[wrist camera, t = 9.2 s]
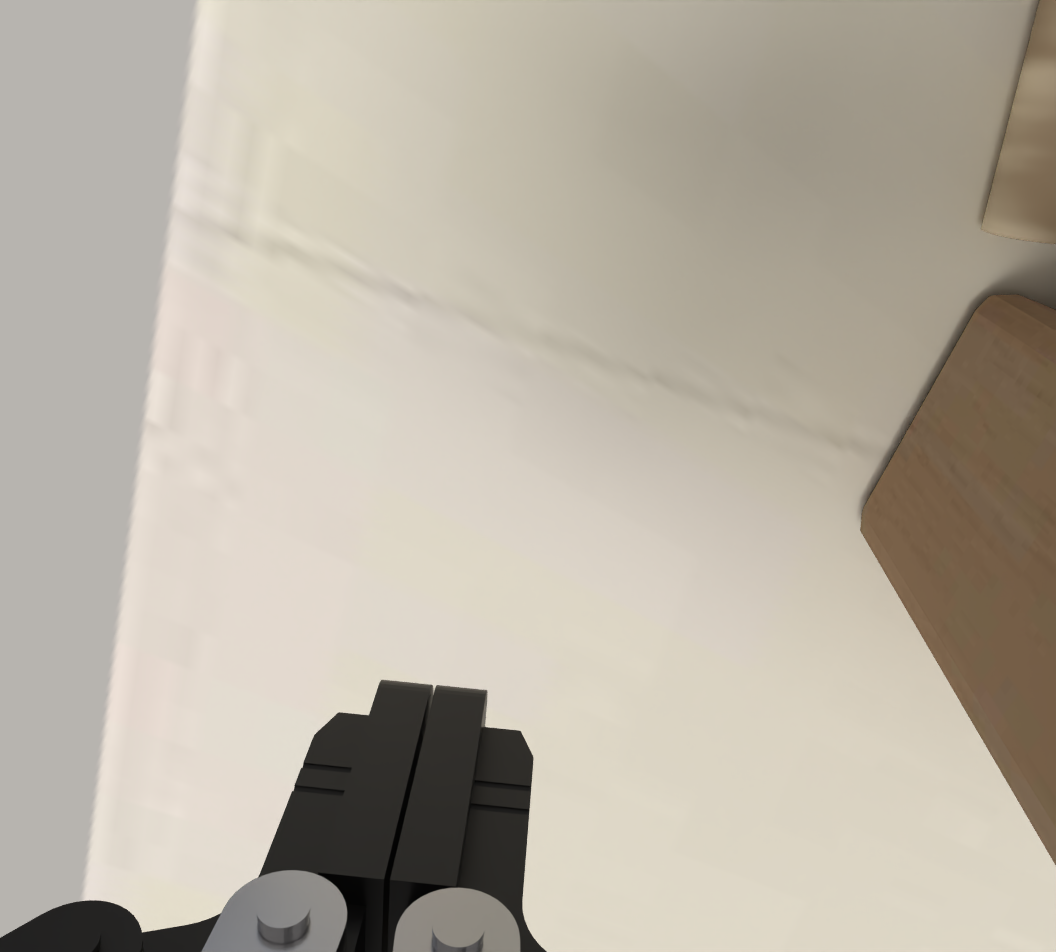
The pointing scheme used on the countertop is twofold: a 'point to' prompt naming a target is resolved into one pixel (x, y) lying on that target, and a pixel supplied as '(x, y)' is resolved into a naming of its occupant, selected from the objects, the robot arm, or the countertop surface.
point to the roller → (1029, 145)
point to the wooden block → (986, 538)
